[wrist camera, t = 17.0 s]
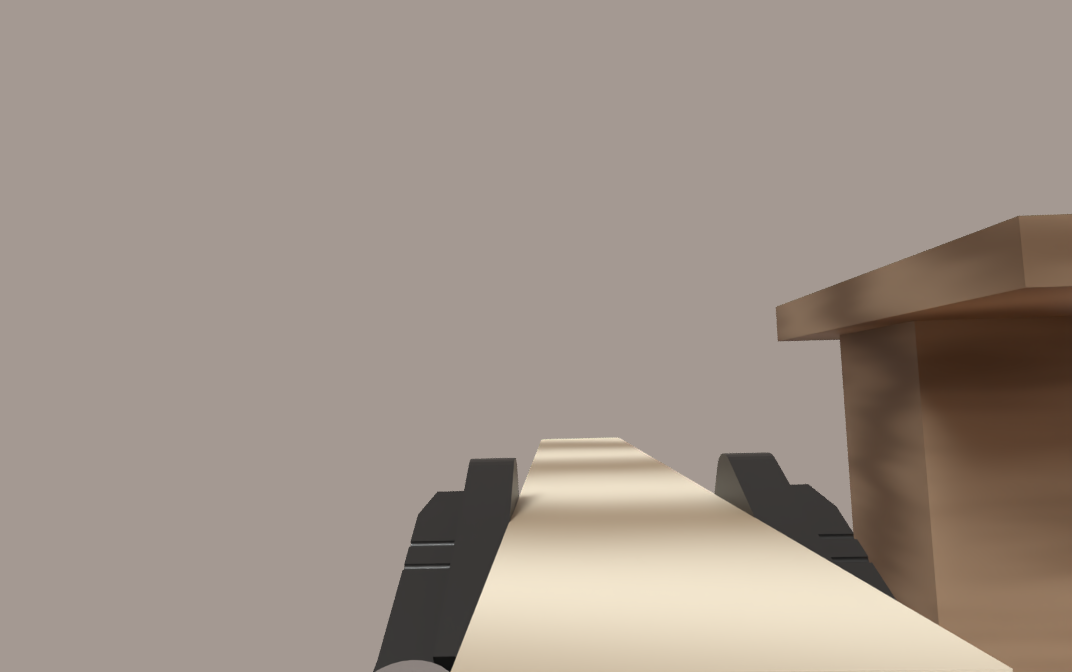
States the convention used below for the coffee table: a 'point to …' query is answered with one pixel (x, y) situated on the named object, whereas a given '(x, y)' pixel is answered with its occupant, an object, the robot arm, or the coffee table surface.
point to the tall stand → (964, 431)
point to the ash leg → (677, 584)
